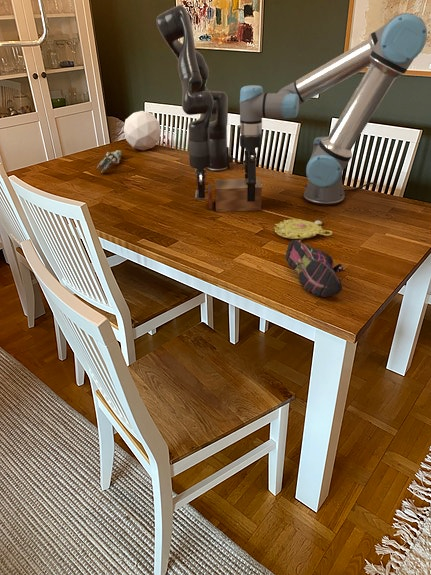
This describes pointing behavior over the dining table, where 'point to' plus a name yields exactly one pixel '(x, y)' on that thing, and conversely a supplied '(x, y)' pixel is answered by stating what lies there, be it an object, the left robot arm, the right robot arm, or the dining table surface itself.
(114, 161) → the figurine
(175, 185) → the dining table surface
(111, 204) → the dining table surface
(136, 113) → the sphere
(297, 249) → the athletic shoe
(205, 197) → the drawer
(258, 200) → the wooden drawer box
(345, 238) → the dining table surface
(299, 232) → the decorative object
